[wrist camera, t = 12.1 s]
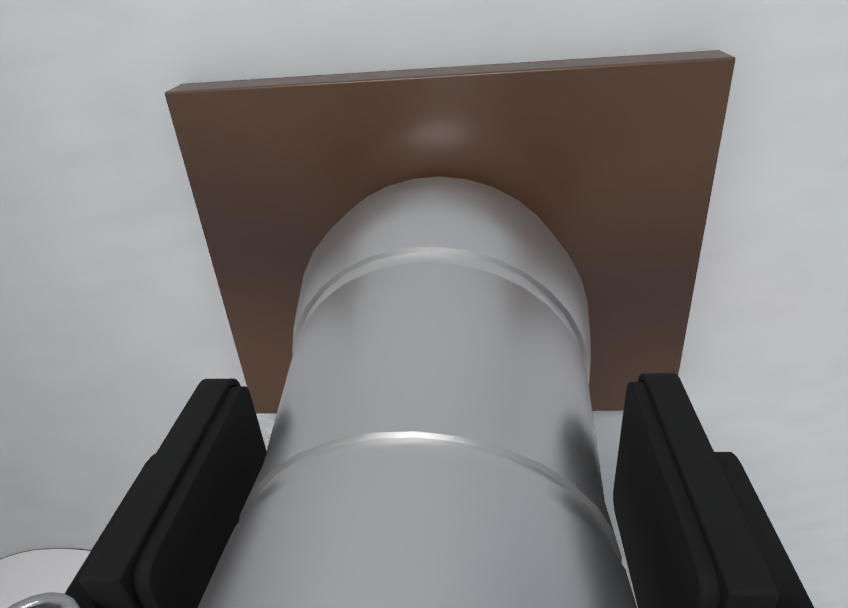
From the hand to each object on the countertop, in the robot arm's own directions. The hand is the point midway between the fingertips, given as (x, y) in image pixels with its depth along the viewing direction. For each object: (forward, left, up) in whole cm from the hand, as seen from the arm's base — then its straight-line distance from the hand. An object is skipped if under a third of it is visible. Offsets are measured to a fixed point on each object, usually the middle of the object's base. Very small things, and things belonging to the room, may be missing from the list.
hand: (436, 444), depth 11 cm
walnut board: (0, 0, -8) cm, 8 cm away
